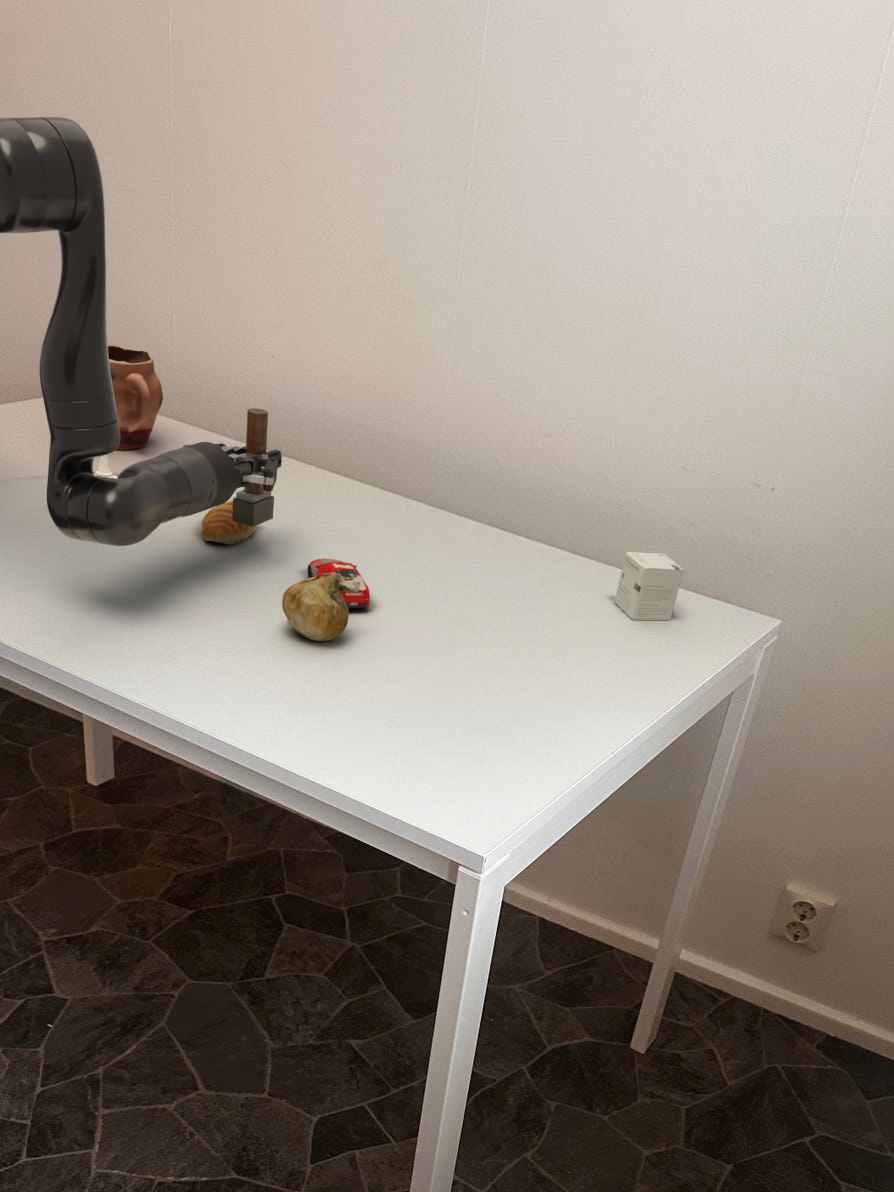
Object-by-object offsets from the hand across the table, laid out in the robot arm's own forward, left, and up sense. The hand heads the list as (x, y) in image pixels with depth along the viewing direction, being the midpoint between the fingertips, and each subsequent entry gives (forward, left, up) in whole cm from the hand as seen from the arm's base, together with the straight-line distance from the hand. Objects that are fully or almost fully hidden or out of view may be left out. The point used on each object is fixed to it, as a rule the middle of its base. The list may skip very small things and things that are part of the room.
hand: (267, 455), depth 155 cm
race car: (-3, -19, -12) cm, 22 cm away
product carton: (+32, -41, -12) cm, 54 cm away
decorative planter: (+6, +45, -12) cm, 46 cm away
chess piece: (-7, +29, -12) cm, 32 cm away
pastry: (-3, +4, -12) cm, 13 cm away
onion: (-14, -27, -12) cm, 33 cm away
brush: (-3, -1, -8) cm, 9 cm away
